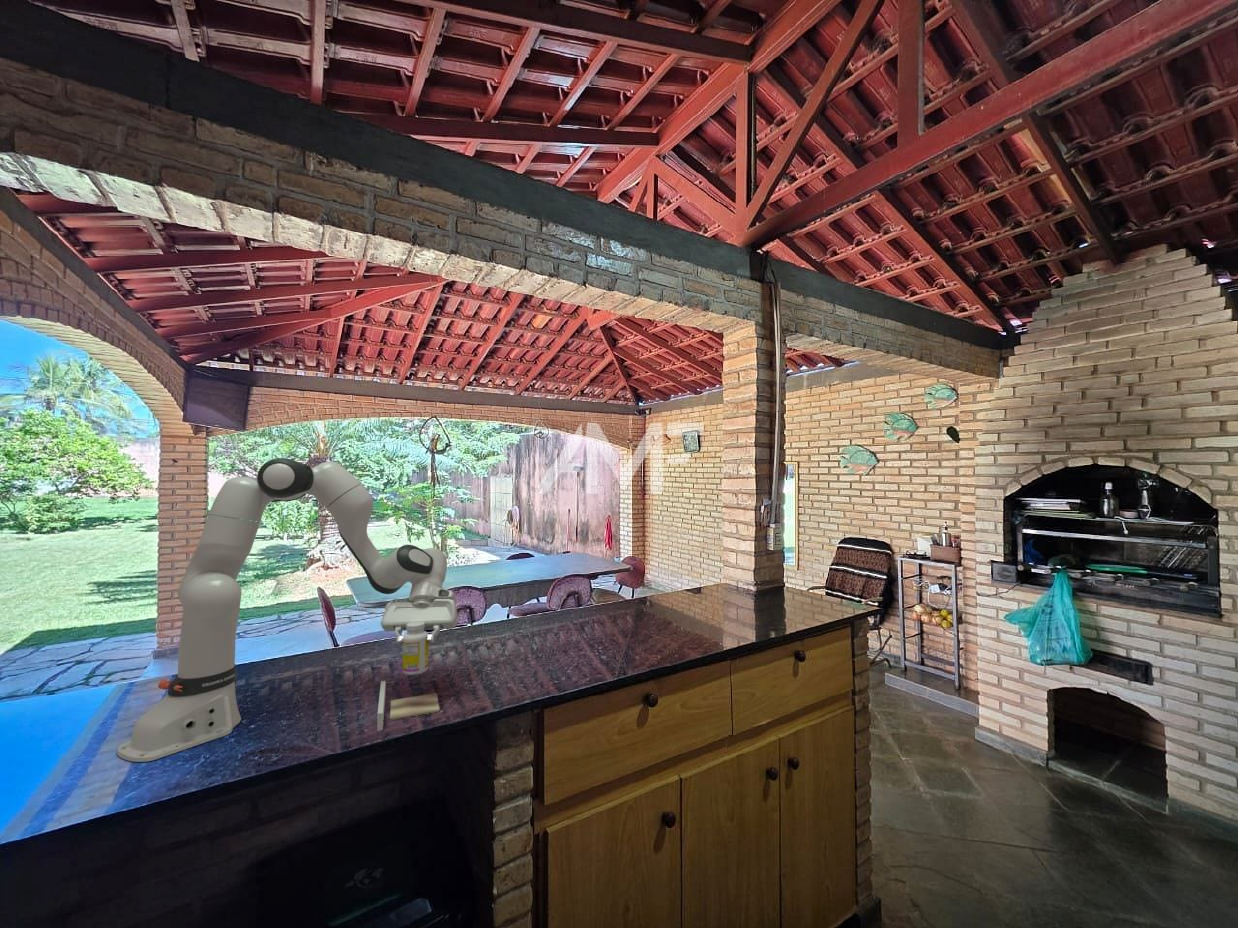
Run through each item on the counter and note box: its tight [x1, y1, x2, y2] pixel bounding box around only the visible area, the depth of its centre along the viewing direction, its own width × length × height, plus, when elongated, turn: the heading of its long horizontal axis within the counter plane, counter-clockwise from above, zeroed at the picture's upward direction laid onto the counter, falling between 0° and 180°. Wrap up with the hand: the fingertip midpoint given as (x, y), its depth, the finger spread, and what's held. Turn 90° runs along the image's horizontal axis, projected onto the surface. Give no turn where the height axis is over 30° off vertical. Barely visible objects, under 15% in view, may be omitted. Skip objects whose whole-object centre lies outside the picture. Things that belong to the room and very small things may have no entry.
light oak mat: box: [389, 692, 441, 721], centre depth 133 cm, size 12×12×1 cm
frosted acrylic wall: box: [376, 680, 387, 732], centre depth 130 cm, size 22×1×4 cm, turn 24°
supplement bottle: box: [401, 622, 429, 676], centre depth 134 cm, size 7×7×13 cm
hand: (414, 642), depth 133 cm, fingers closed on supplement bottle, 7 cm apart
